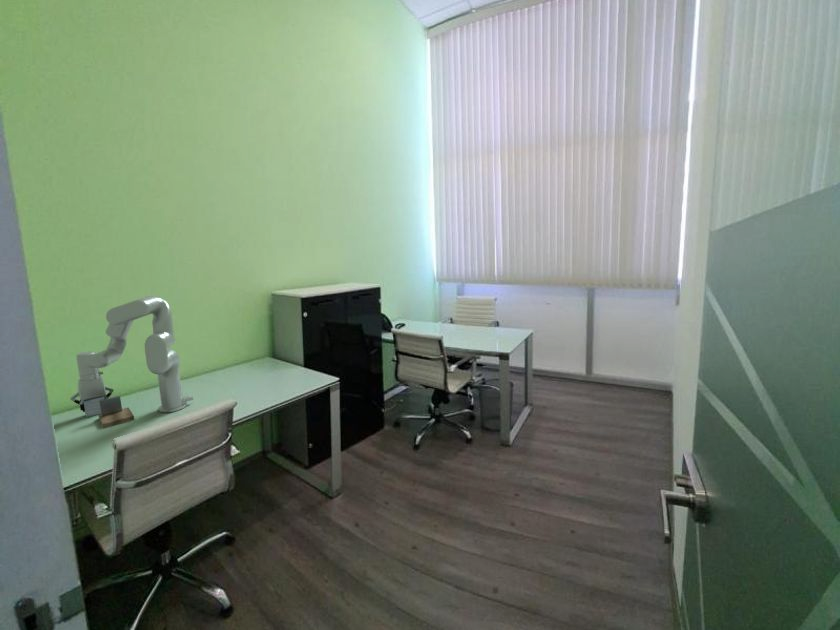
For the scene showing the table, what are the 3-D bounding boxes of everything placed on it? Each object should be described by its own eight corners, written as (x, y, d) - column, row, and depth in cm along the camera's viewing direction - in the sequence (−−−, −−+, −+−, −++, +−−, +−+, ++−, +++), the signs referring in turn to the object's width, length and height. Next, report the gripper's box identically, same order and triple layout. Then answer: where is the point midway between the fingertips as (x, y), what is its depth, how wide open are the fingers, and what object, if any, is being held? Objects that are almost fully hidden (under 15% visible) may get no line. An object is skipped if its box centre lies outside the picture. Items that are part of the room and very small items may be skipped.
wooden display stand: (128, 410, 196) (126, 392, 194) (134, 419, 186) (131, 400, 184) (99, 418, 187) (95, 399, 185) (103, 428, 178) (99, 408, 176)
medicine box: (104, 409, 197) (102, 394, 195) (106, 412, 194) (104, 396, 192) (85, 415, 191) (82, 399, 189) (86, 417, 188) (83, 401, 186)
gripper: (110, 370, 197) (115, 401, 201) (65, 378, 185) (71, 411, 188) (113, 373, 192) (117, 405, 196) (66, 382, 180) (72, 416, 183)
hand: (94, 408), depth 192 cm, fingers closed on medicine box, 8 cm apart
